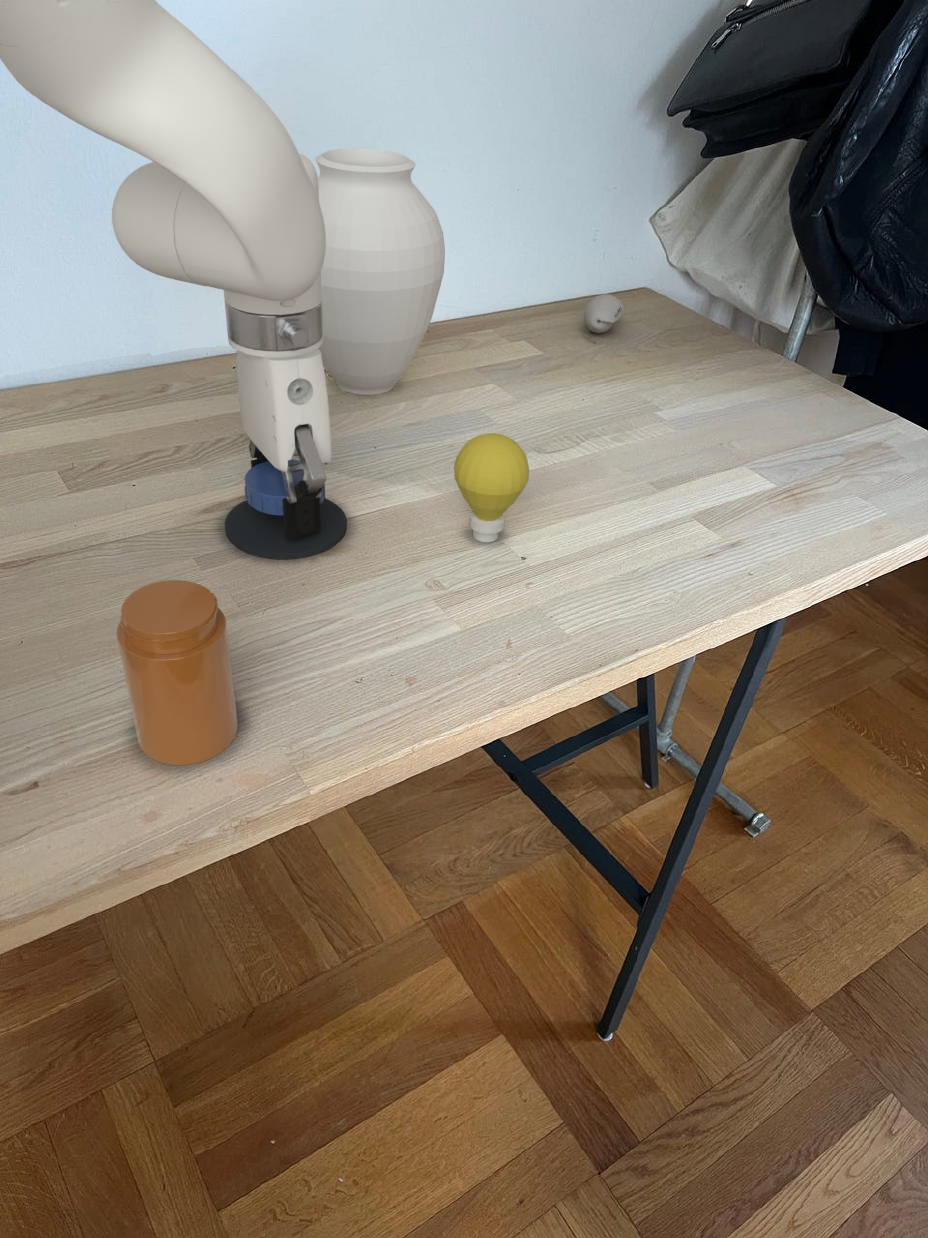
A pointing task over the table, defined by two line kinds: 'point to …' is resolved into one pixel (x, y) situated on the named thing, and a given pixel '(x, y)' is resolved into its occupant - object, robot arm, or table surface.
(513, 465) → the light bulb
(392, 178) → the vase
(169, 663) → the jar
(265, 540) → the coaster
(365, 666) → the table surface
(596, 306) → the stone
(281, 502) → the lid
